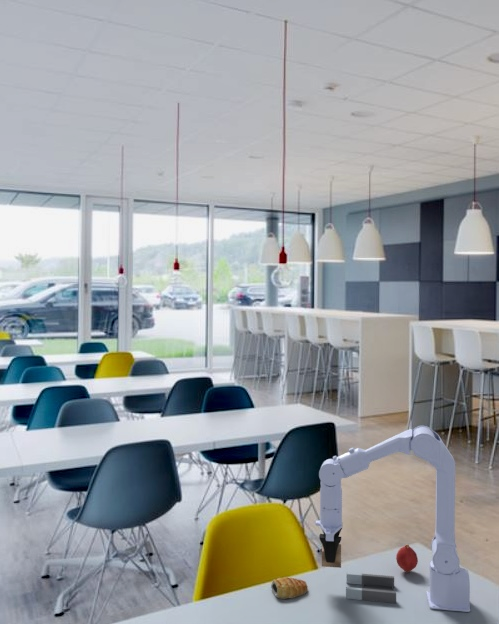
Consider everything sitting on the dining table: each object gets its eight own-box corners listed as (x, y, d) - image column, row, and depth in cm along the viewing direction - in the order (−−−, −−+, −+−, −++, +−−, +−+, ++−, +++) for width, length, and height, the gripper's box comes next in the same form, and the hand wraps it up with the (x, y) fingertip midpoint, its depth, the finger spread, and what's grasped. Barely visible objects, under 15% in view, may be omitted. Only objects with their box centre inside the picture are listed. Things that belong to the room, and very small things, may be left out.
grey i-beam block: (394, 585, 155) (394, 576, 155) (396, 603, 146) (396, 593, 146) (346, 581, 157) (346, 572, 157) (345, 598, 148) (345, 588, 148)
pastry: (301, 584, 156) (301, 570, 156) (312, 596, 150) (312, 582, 150) (269, 589, 153) (269, 575, 153) (278, 602, 147) (278, 587, 147)
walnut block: (341, 558, 155) (341, 544, 155) (341, 567, 150) (341, 552, 150) (322, 557, 156) (322, 543, 156) (321, 566, 151) (321, 551, 151)
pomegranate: (395, 566, 165) (395, 538, 165) (415, 567, 165) (416, 540, 164) (397, 576, 160) (397, 547, 159) (419, 577, 159) (419, 548, 159)
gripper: (317, 495, 160) (317, 544, 161) (313, 515, 146) (313, 568, 147) (343, 497, 159) (343, 546, 160) (341, 517, 145) (341, 570, 145)
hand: (331, 557), depth 153 cm, fingers closed on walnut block, 5 cm apart
